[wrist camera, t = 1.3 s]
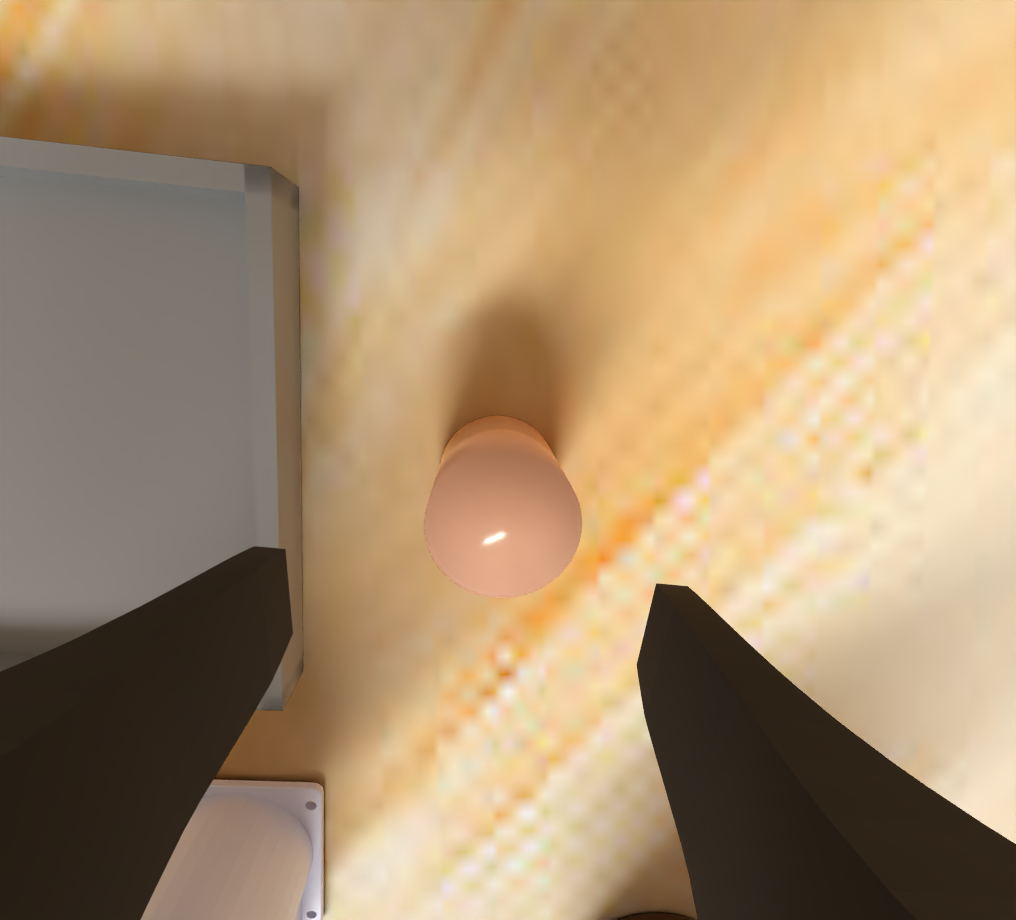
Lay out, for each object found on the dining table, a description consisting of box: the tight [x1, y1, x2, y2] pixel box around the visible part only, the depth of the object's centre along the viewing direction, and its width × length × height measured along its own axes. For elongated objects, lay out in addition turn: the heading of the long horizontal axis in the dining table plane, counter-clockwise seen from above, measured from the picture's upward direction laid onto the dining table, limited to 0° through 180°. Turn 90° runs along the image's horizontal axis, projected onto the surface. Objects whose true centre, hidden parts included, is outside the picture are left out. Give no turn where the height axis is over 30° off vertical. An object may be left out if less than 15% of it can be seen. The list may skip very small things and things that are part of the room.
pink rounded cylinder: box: [424, 416, 582, 598], centre depth 19 cm, size 5×5×6 cm
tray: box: [0, 136, 303, 711], centre depth 19 cm, size 20×20×2 cm
